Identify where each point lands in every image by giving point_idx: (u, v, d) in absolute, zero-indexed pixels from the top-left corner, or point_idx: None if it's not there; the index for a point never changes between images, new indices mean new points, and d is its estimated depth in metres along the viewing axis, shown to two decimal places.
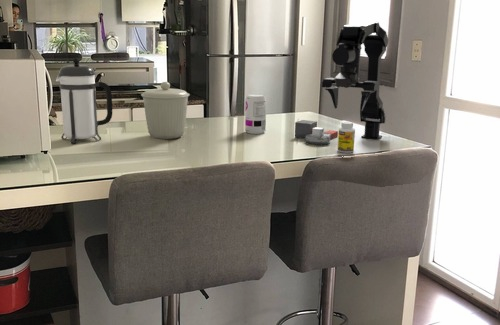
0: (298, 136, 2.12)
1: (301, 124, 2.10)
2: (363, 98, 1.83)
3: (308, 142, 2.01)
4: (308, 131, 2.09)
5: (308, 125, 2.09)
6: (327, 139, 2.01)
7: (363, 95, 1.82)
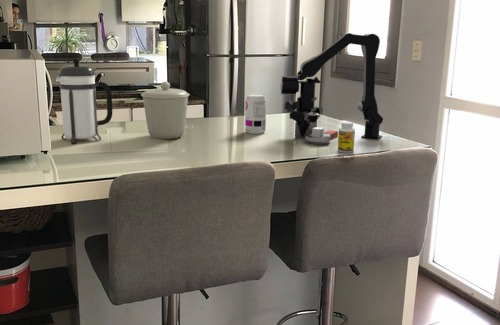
0: (298, 136, 2.12)
1: None
2: None
3: (308, 142, 2.01)
4: (308, 131, 2.09)
5: (308, 125, 2.09)
6: (327, 139, 2.01)
7: None
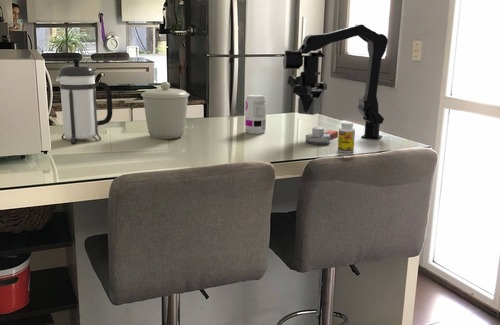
0: (301, 112, 2.07)
1: None
2: None
3: (308, 142, 2.01)
4: (311, 106, 2.05)
5: (311, 100, 2.04)
6: (327, 139, 2.01)
7: None
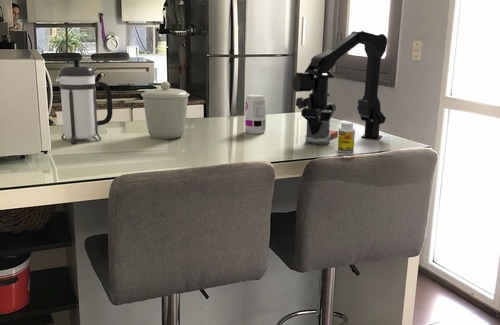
0: (310, 135, 2.01)
1: None
2: None
3: (308, 142, 2.01)
4: (321, 130, 1.99)
5: (321, 124, 1.98)
6: (327, 139, 2.01)
7: None
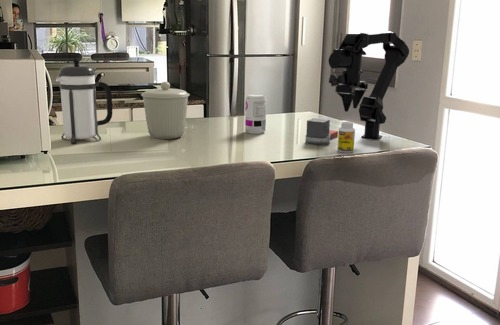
0: (310, 135, 2.01)
1: (313, 122, 2.00)
2: None
3: (308, 142, 2.01)
4: (321, 130, 1.99)
5: (321, 124, 1.98)
6: (327, 139, 2.01)
7: None
